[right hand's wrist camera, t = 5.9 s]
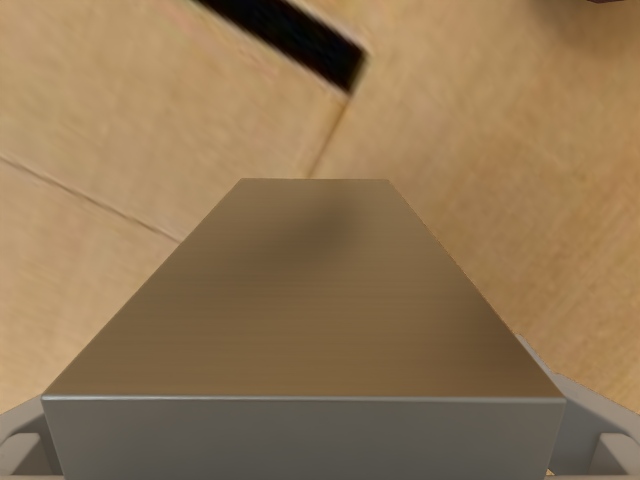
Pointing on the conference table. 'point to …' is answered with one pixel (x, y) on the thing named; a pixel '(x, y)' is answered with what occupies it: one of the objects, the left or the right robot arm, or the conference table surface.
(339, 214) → the box
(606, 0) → the potato
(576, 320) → the conference table surface
